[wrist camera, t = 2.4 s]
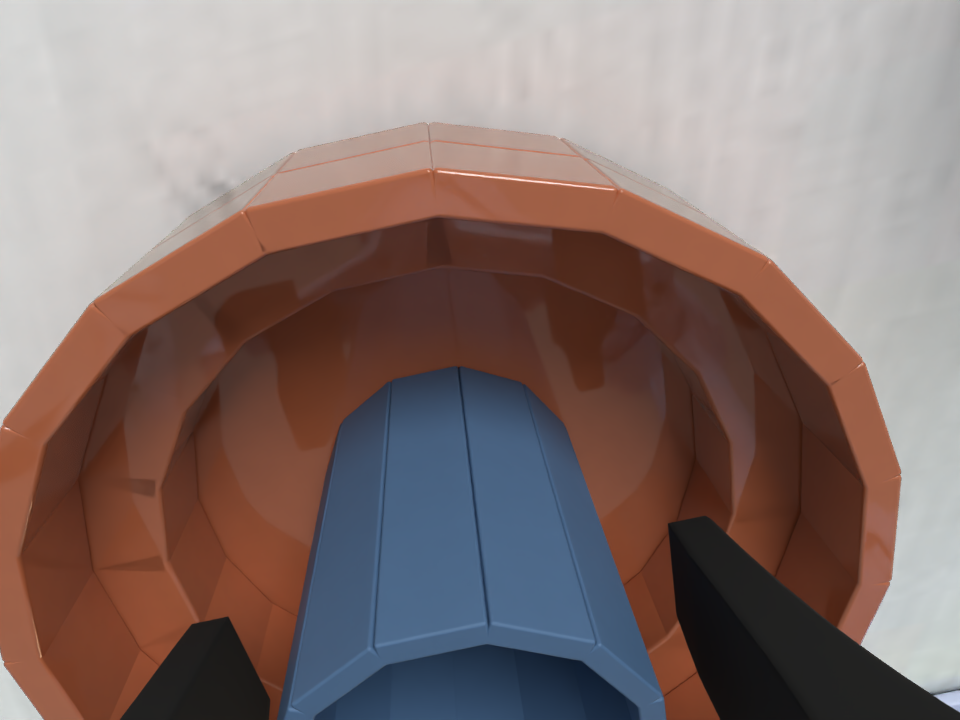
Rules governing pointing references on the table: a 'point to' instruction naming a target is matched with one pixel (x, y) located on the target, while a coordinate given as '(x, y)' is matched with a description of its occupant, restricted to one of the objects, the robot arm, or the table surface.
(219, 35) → the table surface
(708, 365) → the bowl
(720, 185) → the table surface
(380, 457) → the blue cup
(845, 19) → the table surface
